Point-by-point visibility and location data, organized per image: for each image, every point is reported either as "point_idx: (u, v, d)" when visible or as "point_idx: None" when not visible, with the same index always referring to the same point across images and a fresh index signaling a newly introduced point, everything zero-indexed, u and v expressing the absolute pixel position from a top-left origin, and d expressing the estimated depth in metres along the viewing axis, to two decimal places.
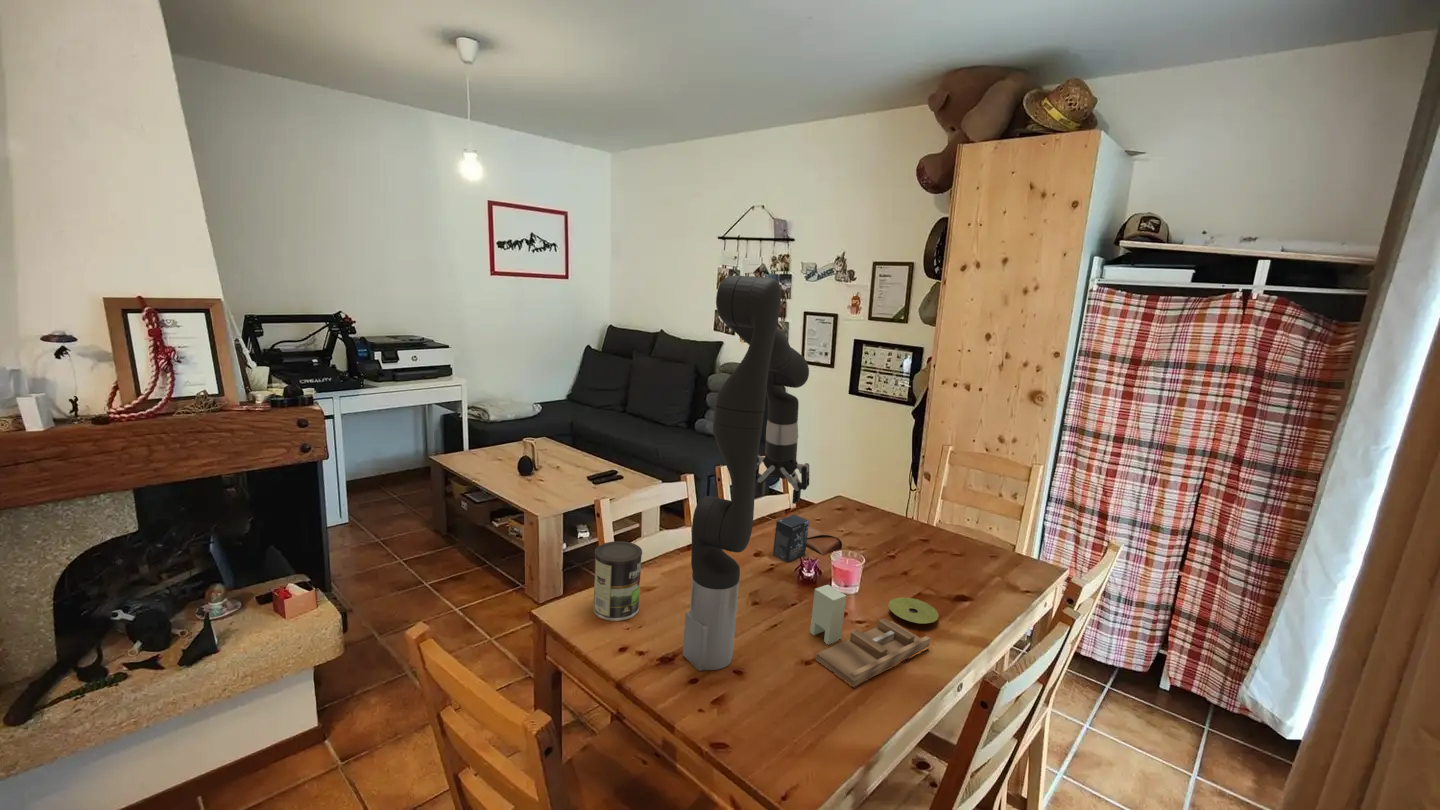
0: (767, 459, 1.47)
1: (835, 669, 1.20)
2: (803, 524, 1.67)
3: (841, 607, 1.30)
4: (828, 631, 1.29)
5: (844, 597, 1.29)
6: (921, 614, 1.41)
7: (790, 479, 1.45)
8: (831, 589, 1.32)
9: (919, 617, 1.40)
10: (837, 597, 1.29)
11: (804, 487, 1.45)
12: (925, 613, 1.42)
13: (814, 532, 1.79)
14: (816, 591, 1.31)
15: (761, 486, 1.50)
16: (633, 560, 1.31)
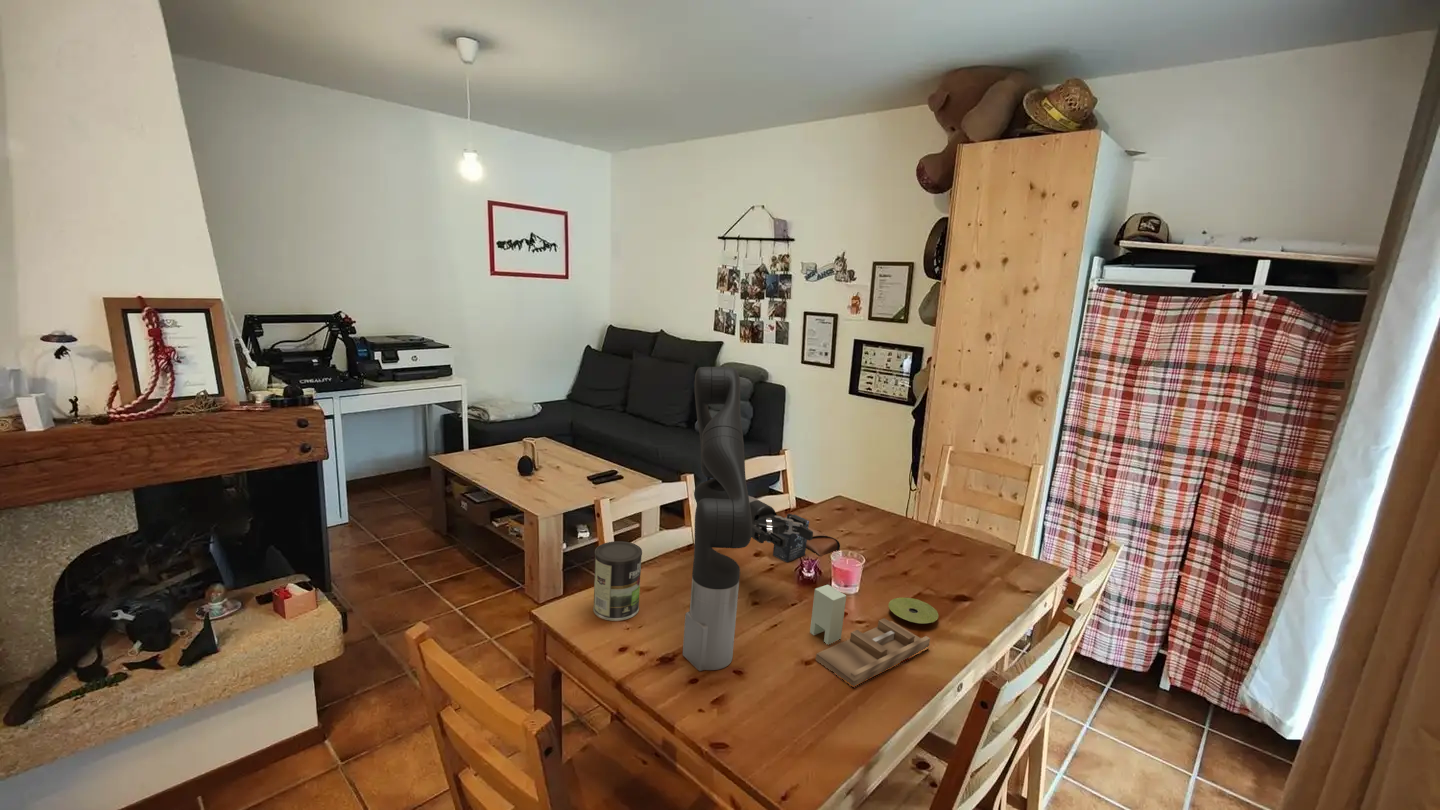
0: (759, 521, 1.44)
1: (835, 669, 1.20)
2: None
3: (841, 607, 1.30)
4: (828, 631, 1.29)
5: (844, 597, 1.29)
6: (921, 614, 1.41)
7: (789, 519, 1.44)
8: (831, 589, 1.32)
9: (919, 617, 1.40)
10: (837, 597, 1.29)
11: (804, 521, 1.45)
12: (925, 613, 1.42)
13: None
14: (816, 591, 1.31)
15: (776, 534, 1.37)
16: (633, 560, 1.31)
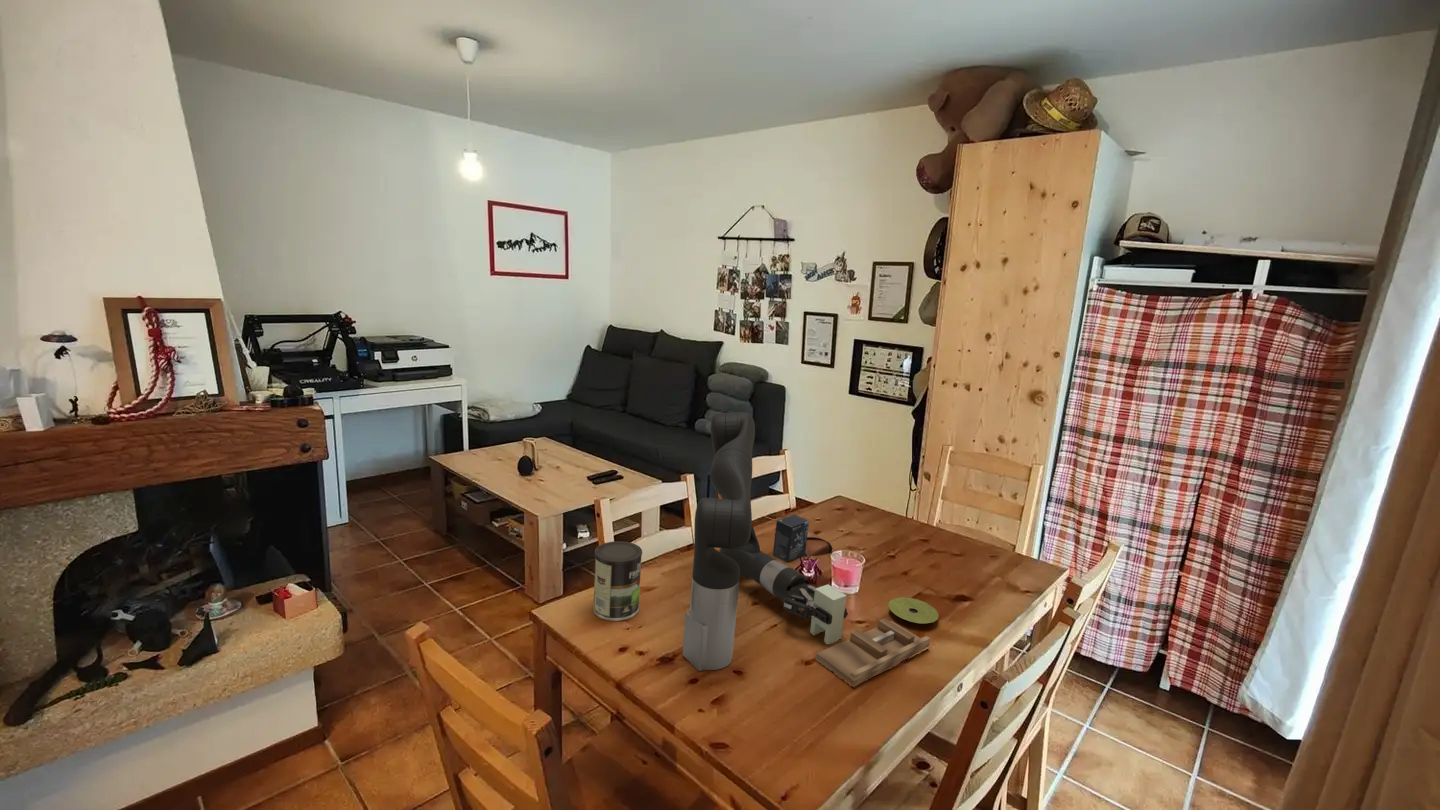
0: (790, 592, 1.36)
1: (835, 669, 1.20)
2: (803, 524, 1.67)
3: (841, 607, 1.30)
4: (828, 631, 1.29)
5: (844, 597, 1.29)
6: (921, 614, 1.41)
7: None
8: (831, 589, 1.32)
9: (919, 617, 1.40)
10: (837, 597, 1.29)
11: None
12: (925, 613, 1.42)
13: None
14: (816, 591, 1.31)
15: (821, 609, 1.30)
16: (633, 560, 1.31)
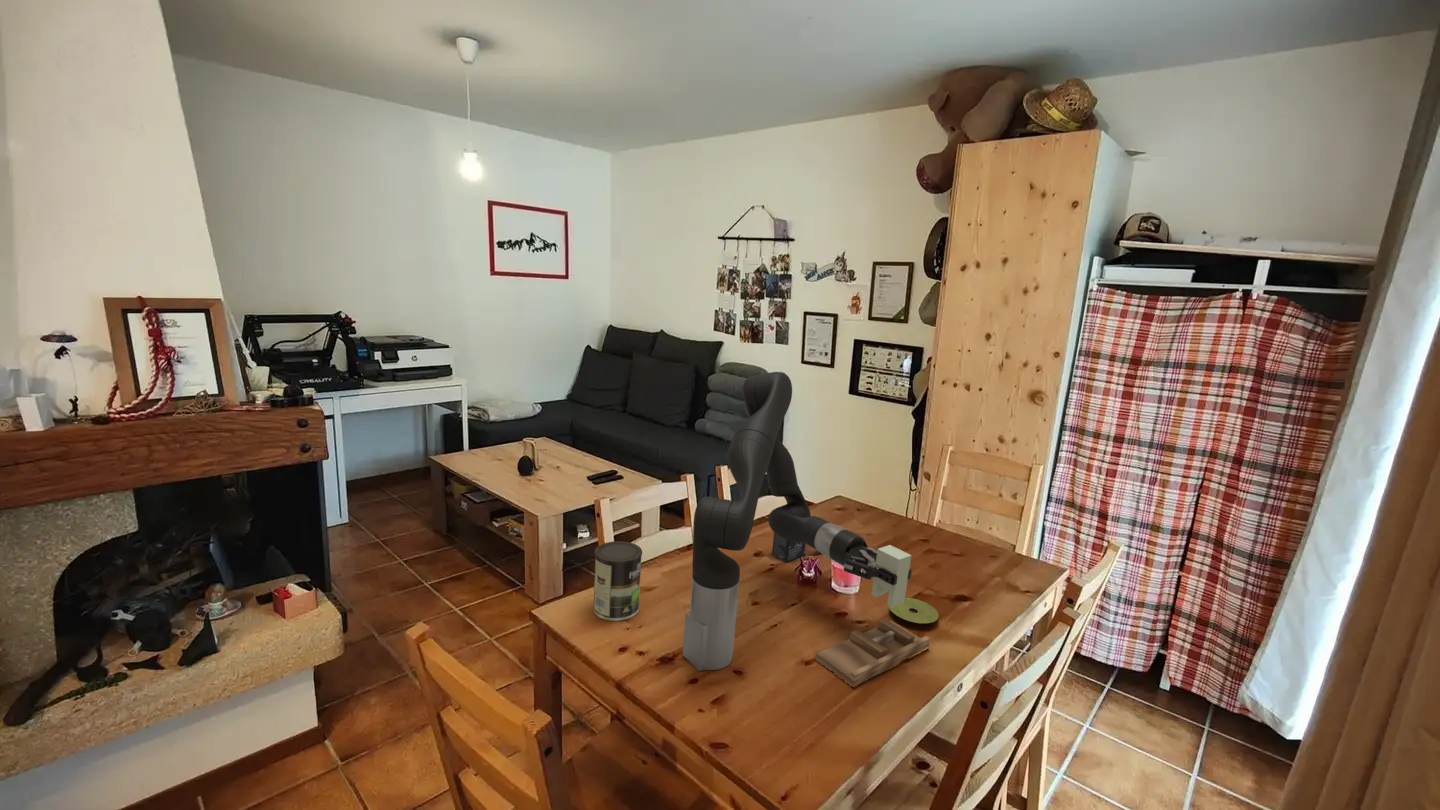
0: (850, 554, 1.30)
1: (835, 669, 1.20)
2: None
3: (906, 567, 1.24)
4: (892, 592, 1.24)
5: (909, 557, 1.24)
6: (921, 614, 1.41)
7: None
8: (894, 549, 1.26)
9: (919, 617, 1.40)
10: (902, 557, 1.23)
11: None
12: (925, 613, 1.42)
13: None
14: (879, 551, 1.26)
15: (885, 569, 1.24)
16: (633, 560, 1.31)
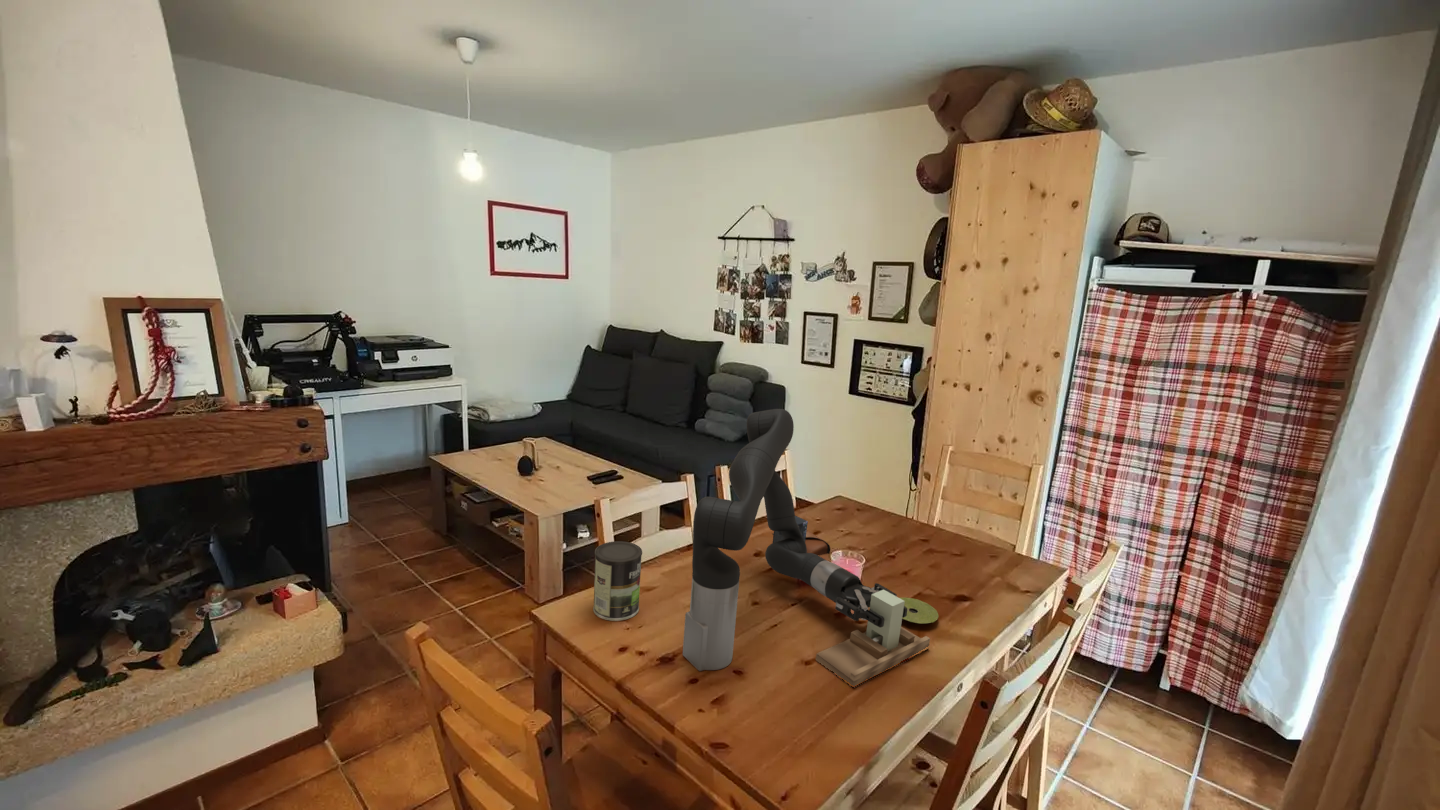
0: (846, 593, 1.32)
1: (835, 669, 1.20)
2: (802, 525, 1.67)
3: (899, 613, 1.26)
4: (886, 638, 1.26)
5: (902, 603, 1.26)
6: (921, 614, 1.41)
7: (878, 591, 1.33)
8: (888, 594, 1.28)
9: (919, 617, 1.40)
10: (896, 603, 1.25)
11: (894, 593, 1.33)
12: (925, 613, 1.42)
13: None
14: (873, 597, 1.28)
15: (872, 611, 1.26)
16: (633, 560, 1.31)
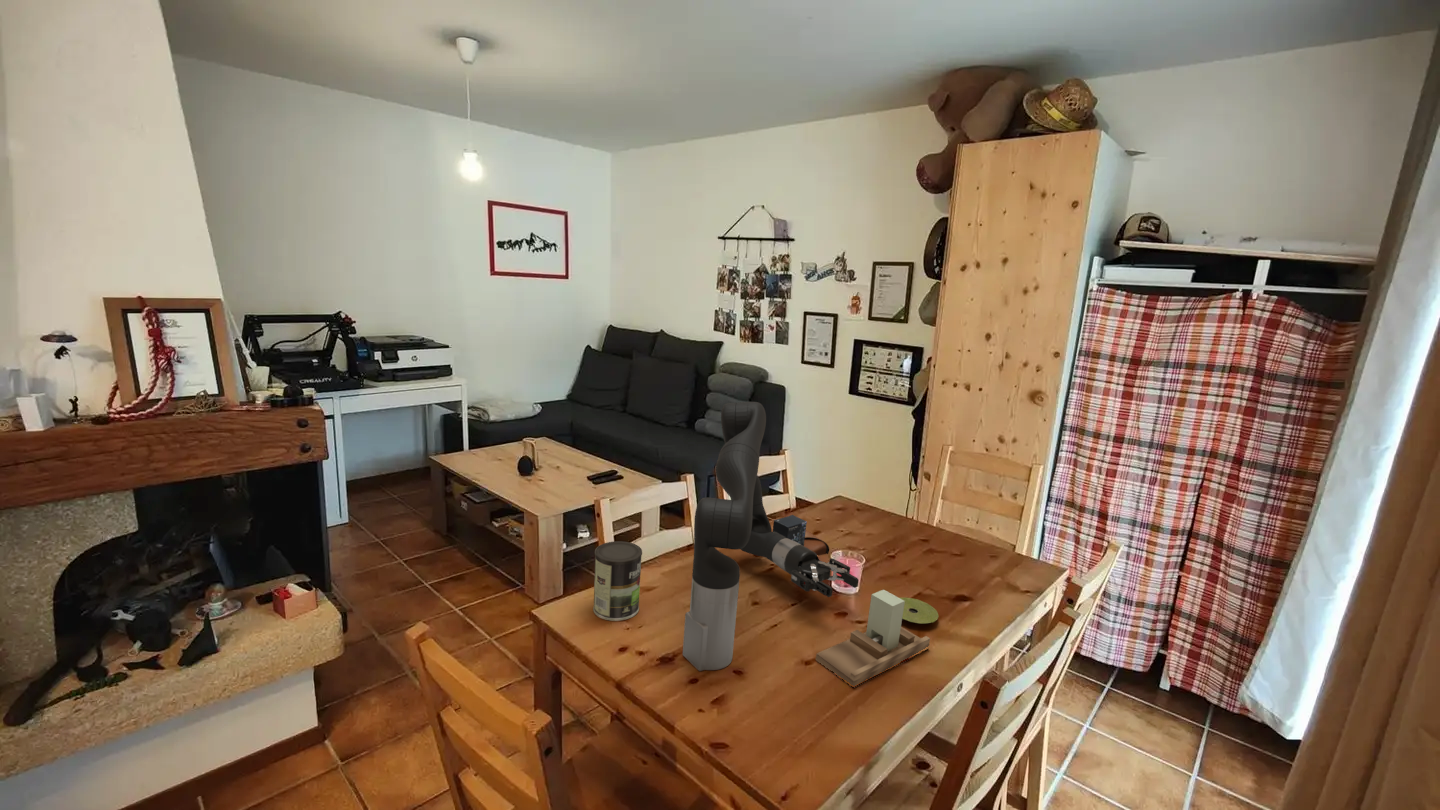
0: (803, 567, 1.43)
1: (835, 669, 1.20)
2: (800, 525, 1.67)
3: (899, 613, 1.26)
4: (886, 638, 1.26)
5: (902, 603, 1.26)
6: (921, 614, 1.41)
7: (833, 565, 1.44)
8: (888, 594, 1.28)
9: (919, 617, 1.40)
10: (896, 603, 1.25)
11: (847, 566, 1.44)
12: (925, 613, 1.42)
13: None
14: (873, 596, 1.28)
15: (822, 582, 1.36)
16: (633, 560, 1.31)
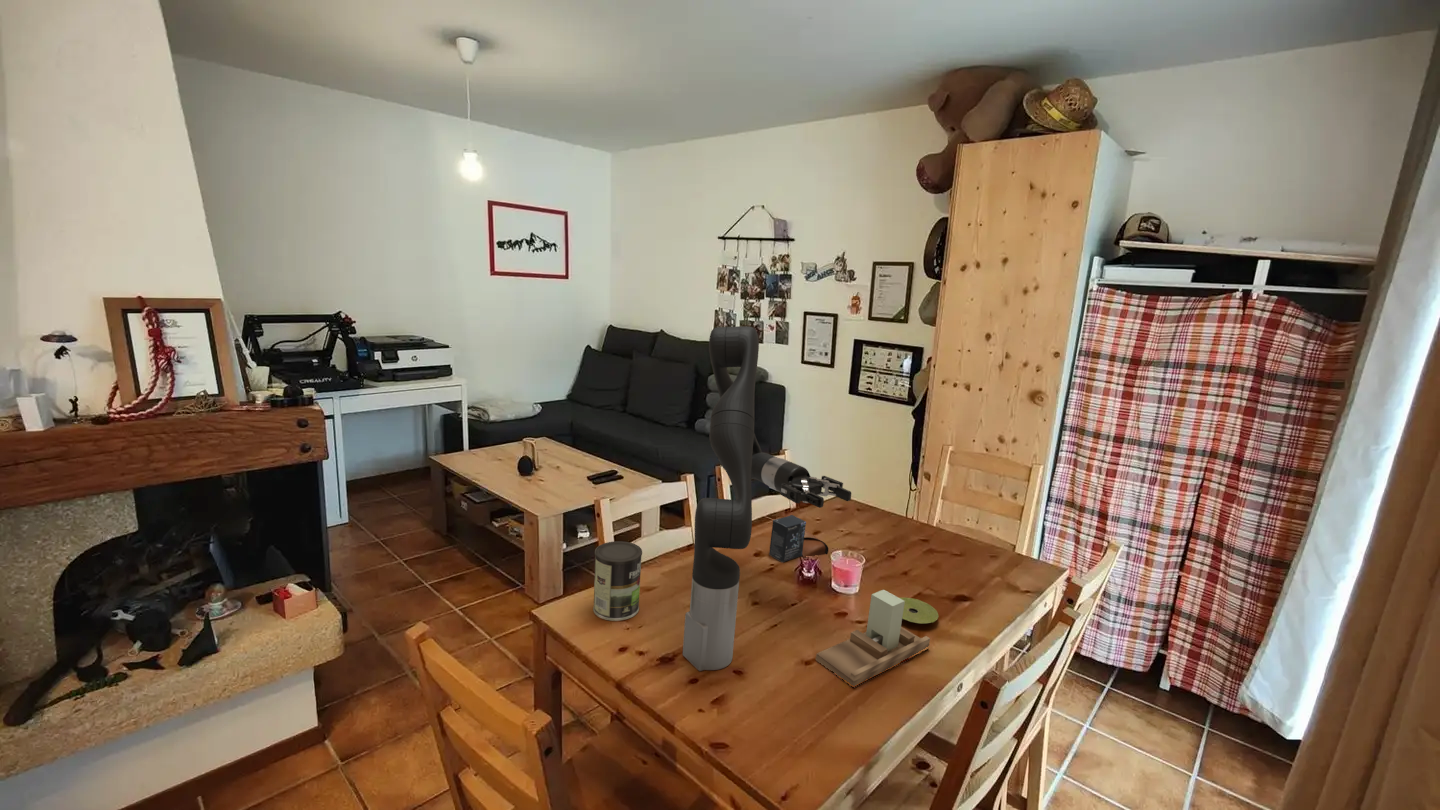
0: (793, 482, 1.36)
1: (835, 669, 1.20)
2: (799, 525, 1.67)
3: (899, 613, 1.26)
4: (886, 638, 1.26)
5: (902, 603, 1.26)
6: (921, 614, 1.41)
7: (825, 480, 1.37)
8: (888, 594, 1.28)
9: (919, 617, 1.40)
10: (896, 603, 1.25)
11: (840, 482, 1.38)
12: (925, 613, 1.42)
13: None
14: (873, 596, 1.28)
15: (813, 493, 1.30)
16: (633, 560, 1.31)
